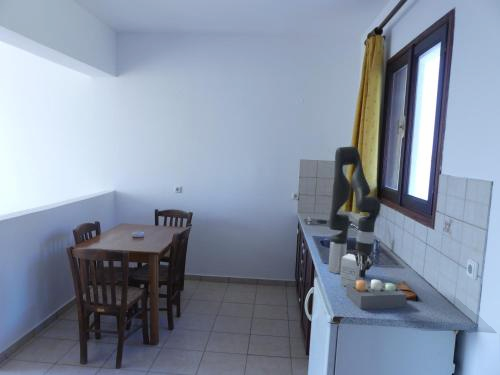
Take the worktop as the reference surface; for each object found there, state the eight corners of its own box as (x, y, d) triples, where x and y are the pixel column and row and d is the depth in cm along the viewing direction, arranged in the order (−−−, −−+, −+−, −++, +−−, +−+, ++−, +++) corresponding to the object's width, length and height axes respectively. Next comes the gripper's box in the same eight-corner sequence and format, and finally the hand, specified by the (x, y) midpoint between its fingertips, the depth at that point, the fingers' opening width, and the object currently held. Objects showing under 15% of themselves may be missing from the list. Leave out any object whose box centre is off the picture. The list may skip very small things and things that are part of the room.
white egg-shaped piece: (368, 290, 164) (369, 279, 163) (377, 290, 165) (378, 279, 164) (373, 294, 159) (374, 283, 159) (382, 294, 160) (383, 283, 159)
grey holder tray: (346, 295, 167) (346, 283, 166) (387, 294, 171) (388, 282, 170) (360, 309, 153) (361, 296, 153) (405, 307, 158) (406, 294, 157)
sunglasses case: (388, 285, 183) (396, 275, 182) (399, 292, 183) (407, 282, 182) (400, 300, 165) (408, 289, 164) (412, 308, 165) (421, 297, 164)
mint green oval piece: (382, 294, 165) (383, 283, 165) (391, 293, 166) (392, 282, 165) (388, 298, 161) (389, 286, 160) (397, 298, 162) (398, 286, 161)
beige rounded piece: (353, 291, 162) (354, 279, 162) (362, 290, 163) (363, 279, 163) (358, 295, 158) (359, 283, 157) (367, 295, 159) (368, 283, 158)
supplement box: (346, 280, 188) (348, 253, 186) (362, 284, 182) (364, 257, 180) (339, 284, 181) (341, 256, 179) (355, 289, 175) (358, 260, 173)
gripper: (350, 236, 163) (347, 272, 165) (364, 244, 151) (361, 282, 152) (365, 236, 165) (362, 272, 167) (380, 244, 152) (377, 282, 154)
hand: (361, 277), depth 160 cm, fingers closed
